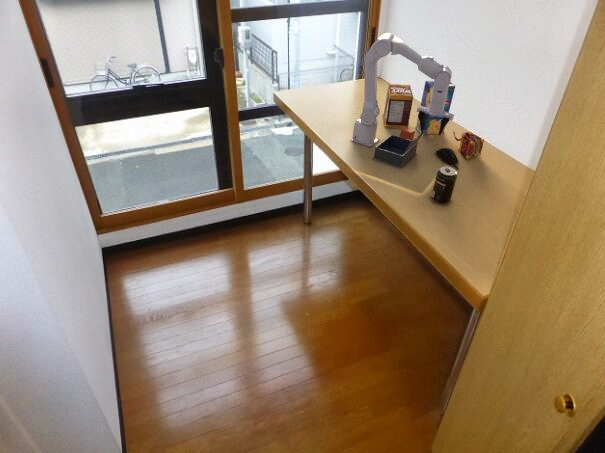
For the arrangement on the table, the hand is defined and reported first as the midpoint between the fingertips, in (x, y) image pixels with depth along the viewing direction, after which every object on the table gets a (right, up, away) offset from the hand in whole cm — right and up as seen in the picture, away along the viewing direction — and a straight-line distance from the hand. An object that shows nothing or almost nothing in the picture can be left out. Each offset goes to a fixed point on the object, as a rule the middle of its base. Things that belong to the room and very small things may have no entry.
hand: (430, 132), depth 175 cm
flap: (-9, -5, -6) cm, 12 cm away
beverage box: (+6, +6, +23) cm, 24 cm away
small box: (-7, -2, +13) cm, 15 cm away
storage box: (-14, -10, +2) cm, 18 cm away
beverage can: (-3, -29, -22) cm, 37 cm away
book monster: (+15, -8, +6) cm, 18 cm away
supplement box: (-8, +11, +30) cm, 33 cm away
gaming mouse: (+8, -12, +1) cm, 14 cm away
